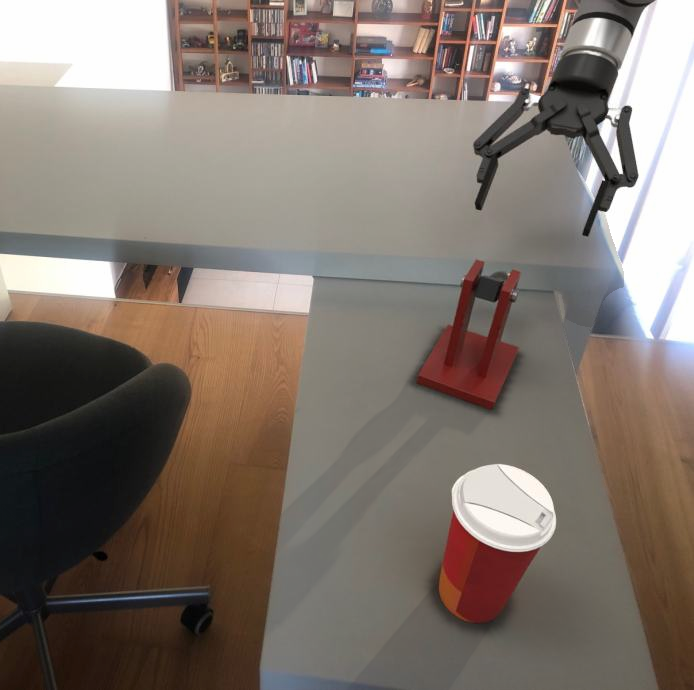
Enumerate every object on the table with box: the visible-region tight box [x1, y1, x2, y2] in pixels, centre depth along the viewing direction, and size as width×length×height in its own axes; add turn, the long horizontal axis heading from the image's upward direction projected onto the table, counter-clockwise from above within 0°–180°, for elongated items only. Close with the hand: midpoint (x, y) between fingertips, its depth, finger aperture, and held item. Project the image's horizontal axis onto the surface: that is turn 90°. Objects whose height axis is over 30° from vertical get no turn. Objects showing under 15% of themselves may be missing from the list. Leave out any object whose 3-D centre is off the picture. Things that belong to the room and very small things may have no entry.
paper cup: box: [438, 463, 557, 624], centre depth 57 cm, size 8×8×14 cm
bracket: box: [416, 259, 522, 411], centre depth 80 cm, size 11×9×14 cm
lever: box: [474, 270, 510, 303], centre depth 81 cm, size 14×4×4 cm, turn 149°
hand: (530, 219), depth 90 cm, fingers open, 13 cm apart
